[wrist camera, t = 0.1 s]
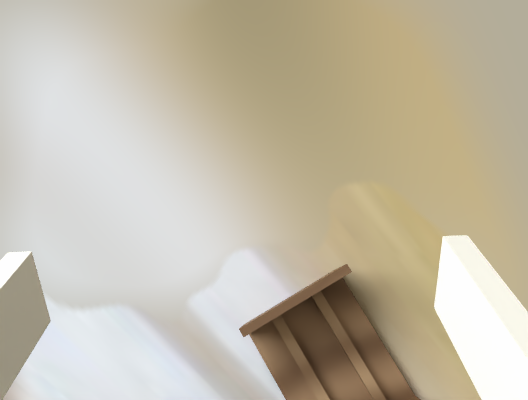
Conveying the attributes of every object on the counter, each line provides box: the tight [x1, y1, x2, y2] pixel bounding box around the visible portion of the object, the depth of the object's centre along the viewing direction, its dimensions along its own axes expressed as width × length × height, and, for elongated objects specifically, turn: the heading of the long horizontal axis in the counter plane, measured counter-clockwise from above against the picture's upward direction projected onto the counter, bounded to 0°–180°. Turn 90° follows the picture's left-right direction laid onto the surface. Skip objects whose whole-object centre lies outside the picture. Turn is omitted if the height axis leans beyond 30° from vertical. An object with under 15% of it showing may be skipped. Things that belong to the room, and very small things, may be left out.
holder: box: [239, 264, 420, 400], centre depth 46 cm, size 15×11×8 cm
